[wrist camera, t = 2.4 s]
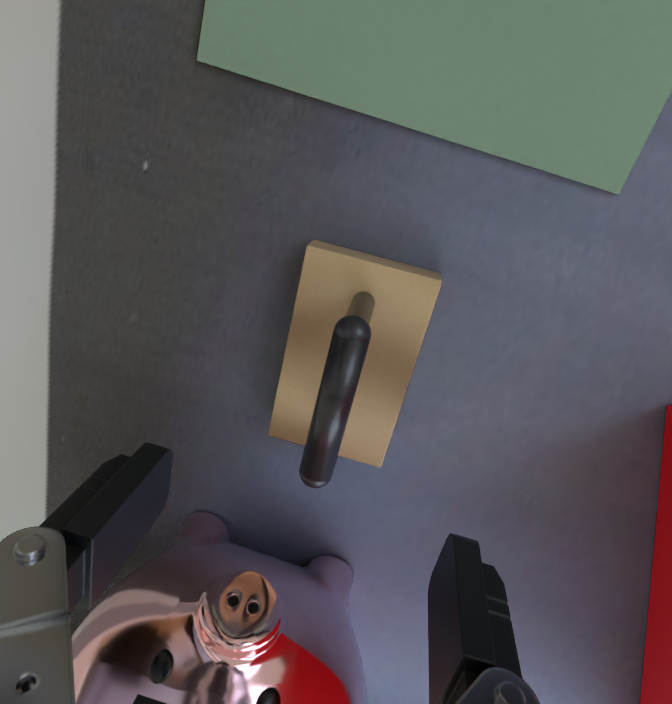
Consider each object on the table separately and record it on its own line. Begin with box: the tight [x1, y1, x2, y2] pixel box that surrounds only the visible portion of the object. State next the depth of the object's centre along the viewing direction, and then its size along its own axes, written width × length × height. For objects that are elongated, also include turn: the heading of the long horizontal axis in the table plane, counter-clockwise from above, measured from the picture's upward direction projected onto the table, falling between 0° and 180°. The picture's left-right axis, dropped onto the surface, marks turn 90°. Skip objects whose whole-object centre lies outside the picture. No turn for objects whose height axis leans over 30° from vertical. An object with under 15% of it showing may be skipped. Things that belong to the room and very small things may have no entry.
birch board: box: [268, 239, 442, 488], centre depth 22 cm, size 10×6×6 cm, turn 167°
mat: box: [197, 0, 672, 195], centre depth 19 cm, size 18×7×1 cm, turn 73°
